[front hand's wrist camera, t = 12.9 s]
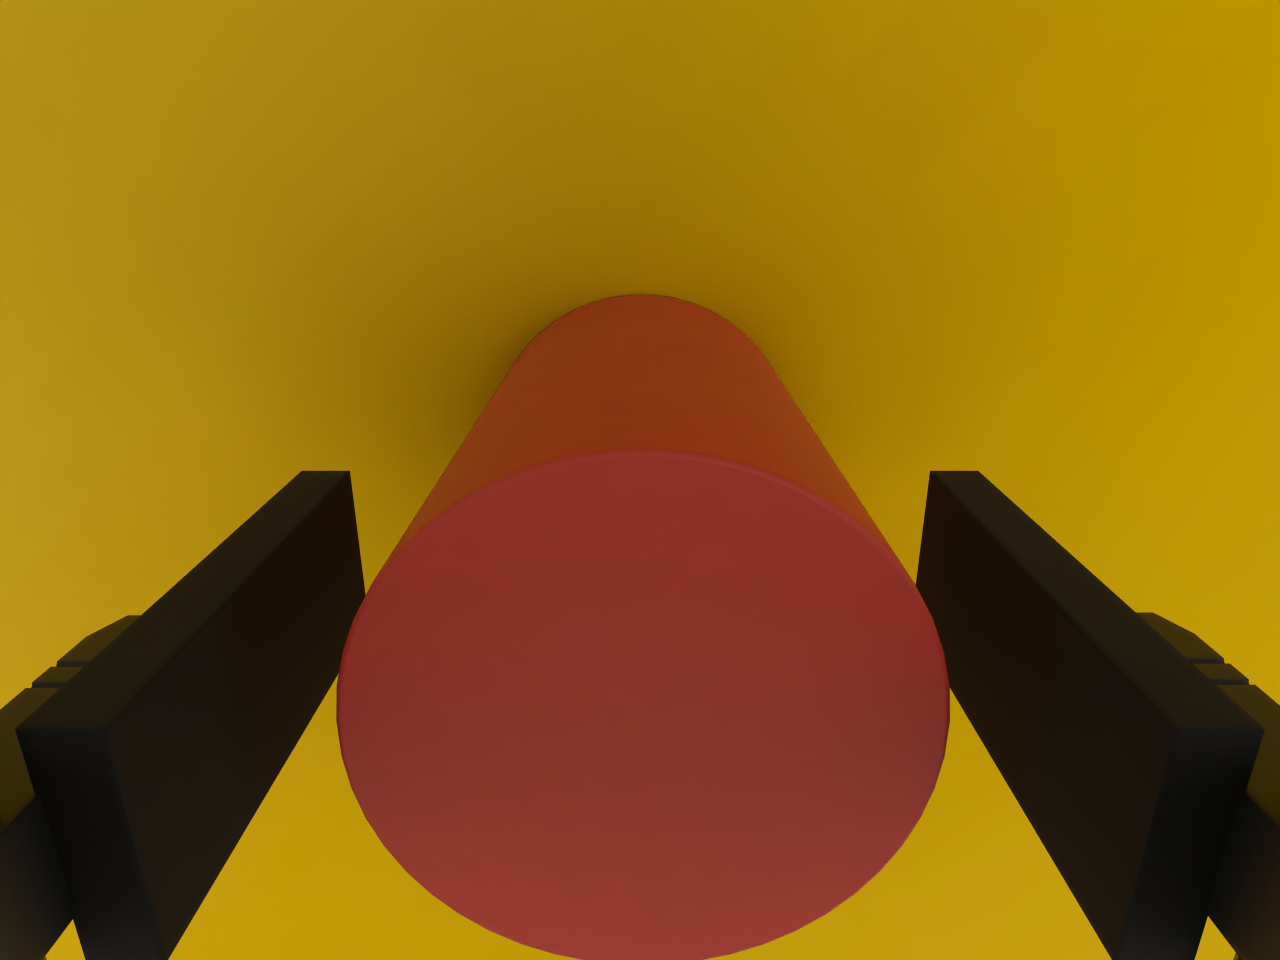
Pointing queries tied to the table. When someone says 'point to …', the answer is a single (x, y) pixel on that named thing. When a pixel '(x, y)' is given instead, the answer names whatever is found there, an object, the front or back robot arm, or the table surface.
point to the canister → (642, 656)
